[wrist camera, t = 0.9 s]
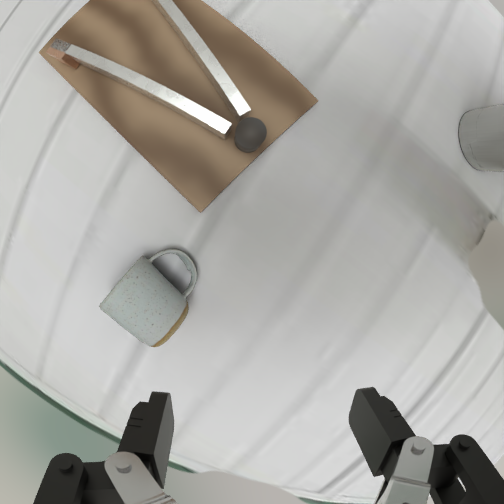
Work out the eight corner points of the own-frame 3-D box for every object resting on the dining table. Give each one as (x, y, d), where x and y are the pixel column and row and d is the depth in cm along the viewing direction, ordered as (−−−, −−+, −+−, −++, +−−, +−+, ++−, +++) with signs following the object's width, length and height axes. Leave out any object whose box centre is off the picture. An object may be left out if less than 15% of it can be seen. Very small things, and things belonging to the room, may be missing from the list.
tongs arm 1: (254, 114, 30) (258, 105, 27) (238, 123, 31) (239, 115, 27) (154, -22, 25) (148, -38, 21) (140, -14, 25) (133, -31, 21)
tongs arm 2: (231, 130, 31) (231, 123, 27) (220, 146, 31) (219, 141, 27) (69, 49, 26) (55, 38, 22) (60, 62, 27) (45, 52, 23)
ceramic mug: (159, 333, 36) (147, 364, 29) (111, 291, 35) (88, 314, 27) (214, 276, 35) (212, 299, 28) (163, 229, 34) (147, 240, 27)
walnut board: (140, -35, 25) (130, -59, 19) (316, 102, 32) (333, 88, 26) (42, 54, 27) (18, 40, 21) (201, 211, 33) (195, 218, 27)
